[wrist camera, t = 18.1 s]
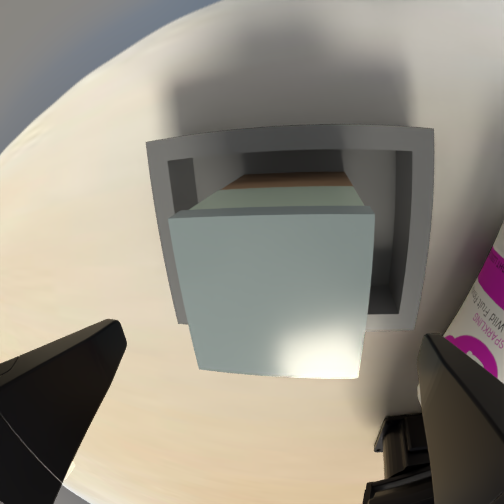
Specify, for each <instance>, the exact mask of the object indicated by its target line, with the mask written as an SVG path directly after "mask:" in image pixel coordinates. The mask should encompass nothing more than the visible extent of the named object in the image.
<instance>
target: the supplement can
mask: <svg viewBox="0 0 504 504" xmlns="http://www.w3.org/2000/svg"><path fill="white" fill-rule="evenodd" d="M443 337H444V338H446V339H447V340H448V341H450V342H451V343H452V344H454V345H455V346H456V347H458V348H459V349H460V350H462V351H463V352H464V353H465V354H467V355H468V356H469V357H471V358H472V359H473V360H474V361H476V362H477V363H478V364H480V365H481V366H482V367H483V368H485V369H486V370H487V371H488V372H490V373H491V374H492V375H494V376H495V377H496V378H497V379H499V380H500V381H501V382H502V383H504V221H503V223H502V226H501V228H500V231H499V233H498V235H497V238H496V240H495V242H494V244H493V247H492V249H491V251H490V253H489V255H488V257H487V259H486V261H485V263H484V265H483V267H482V269H481V271H480V273H479V275H478V277H477V279H476V281H475V283H474V285H473V287H472V288H471V290H470V292H469V294H468V296H467V297H466V299H465V301H464V303H463V304H462V306H461V308H460V310H459V311H458V313H457V315H456V316H455V318H454V319H453V321H452V323H451V324H450V326H449V327H448V329H447V331H446V332H445V334H444V335H443ZM417 392H418V400H419V402H420V404H421V396H420V386H419V384H418V387H417Z"/></svg>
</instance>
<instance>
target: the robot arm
mask: <svg viewBox="0 0 504 504" xmlns="http://www.w3.org/2000/svg"><path fill="white" fill-rule="evenodd" d="M126 346H127V341H126V338H125V335H124V332H123V329H122V326H121V324H120V322H119V321H118V320H113V319H106V320H103V321H101V322H98V323H96V324H94V325H91V326H89V327H87V328H84V329H82V330H80V331H77V332H75V333H72V334H70V335H68V336H65V337H63V338H61V339H58V340H56V341H53V342H51V343H49V344H46V345H44V346H42V347H39V348H37V349H34V350H32V351H30V352H27V353H25V354H22V355H20V356H18V357H15V358H13V359H10V360H8V361H5V362H3V363H0V504H54V501H55V499H56V497H57V494H58V492H59V490H60V488H61V485H62V483H63V480H64V478H65V476H66V474H67V472H68V470H69V467H70V465H71V463H72V461H73V459H74V457H75V455H76V453H77V450H78V448H79V446H80V444H81V442H82V440H83V438H84V436H85V434H86V432H87V430H88V428H89V426H90V424H91V422H92V420H93V418H94V416H95V414H96V412H97V410H98V408H99V406H100V405H101V403H102V401H103V399H104V397H105V395H106V393H107V391H108V389H109V387H110V385H111V383H112V381H113V378H114V376H115V373H116V371H117V369H118V366H119V364H120V361H121V359H122V357H123V354H124V352H125V350H126ZM417 368H418V376H419V386H420V396H421V408H422V414H417V415H407V416H394V417H387V418H386V419H385V420H384V423H383V425H382V428H381V431H380V434H379V436H378V439H377V441H376V444H375V446H374V452H383V457H384V476H385V479H384V480H380V481H376V482H369V483H367V485H366V490H365V492H364V498H363V504H504V383H502V382H501V381H500V380H499V379H497V378H496V377H495V376H494V375H492V374H491V373H490V372H488V371H487V370H486V369H485V368H483V367H482V366H481V365H480V364H478V363H477V362H476V361H474V360H473V359H472V358H471V357H469V356H468V355H467V354H465V353H464V352H463V351H462V350H460V349H459V348H458V347H456V346H455V345H454V344H452V343H451V342H450V341H448V340H447V339H446V338H444V337H443V336H442V335H440V334H438V333H432V334H426V335H425V336H424V337H423V340H422V344H421V348H420V351H419V355H418V359H417Z"/></svg>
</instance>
